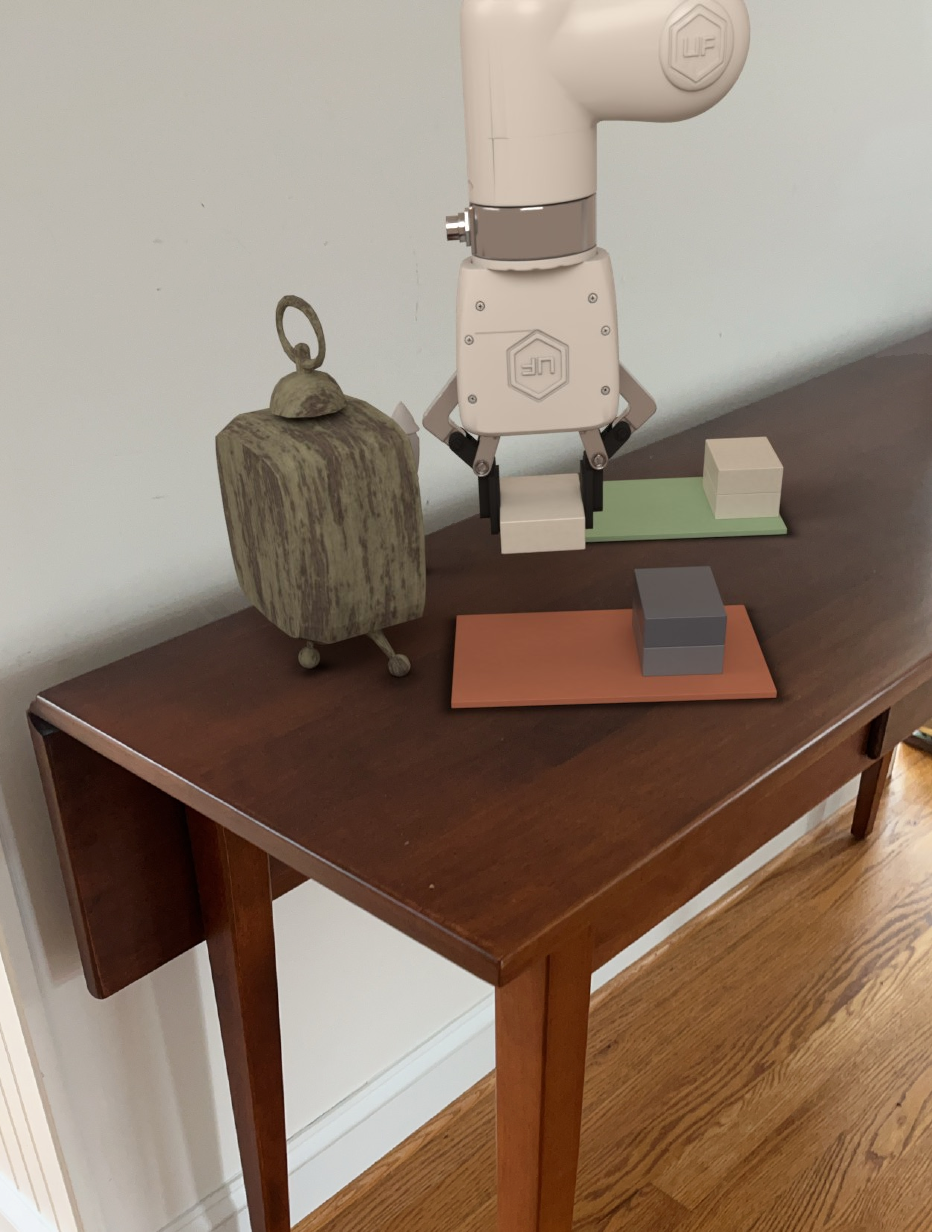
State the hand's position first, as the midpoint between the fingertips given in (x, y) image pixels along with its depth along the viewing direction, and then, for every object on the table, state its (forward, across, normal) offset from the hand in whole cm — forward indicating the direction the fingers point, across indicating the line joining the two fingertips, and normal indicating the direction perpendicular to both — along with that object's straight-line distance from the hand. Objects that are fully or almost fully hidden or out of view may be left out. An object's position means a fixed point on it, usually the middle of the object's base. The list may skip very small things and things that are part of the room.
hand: (541, 521), depth 85 cm
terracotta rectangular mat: (+10, +4, 0) cm, 11 cm away
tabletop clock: (+10, -16, +1) cm, 19 cm away
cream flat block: (0, 0, 0) cm, 0 cm away
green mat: (+11, +12, +29) cm, 33 cm away
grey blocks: (+10, +9, 0) cm, 14 cm away
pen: (+10, -11, +17) cm, 22 cm away
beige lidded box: (+10, +18, +29) cm, 36 cm away
